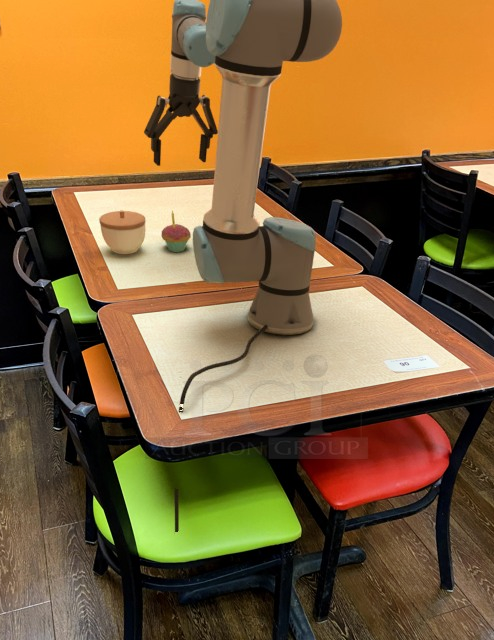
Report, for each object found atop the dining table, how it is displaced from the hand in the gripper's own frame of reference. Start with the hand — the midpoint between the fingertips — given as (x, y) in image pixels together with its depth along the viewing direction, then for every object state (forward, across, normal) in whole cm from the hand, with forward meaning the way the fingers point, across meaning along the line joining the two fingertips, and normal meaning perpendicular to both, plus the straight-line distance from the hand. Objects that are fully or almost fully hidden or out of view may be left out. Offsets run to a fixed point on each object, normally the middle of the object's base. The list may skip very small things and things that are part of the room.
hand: (180, 162), depth 154 cm
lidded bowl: (+24, +16, 0) cm, 29 cm away
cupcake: (+24, +2, +4) cm, 25 cm away
